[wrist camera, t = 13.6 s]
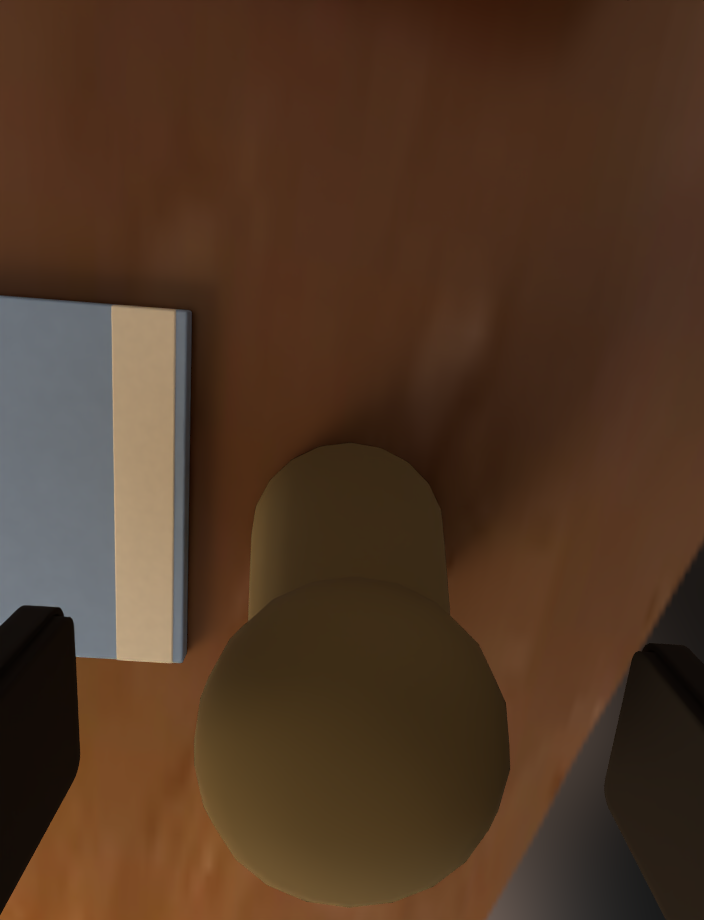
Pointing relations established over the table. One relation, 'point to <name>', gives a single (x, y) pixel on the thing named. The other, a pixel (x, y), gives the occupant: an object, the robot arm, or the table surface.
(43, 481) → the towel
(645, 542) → the table surface
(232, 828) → the olive tall tapered piece
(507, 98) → the table surface
